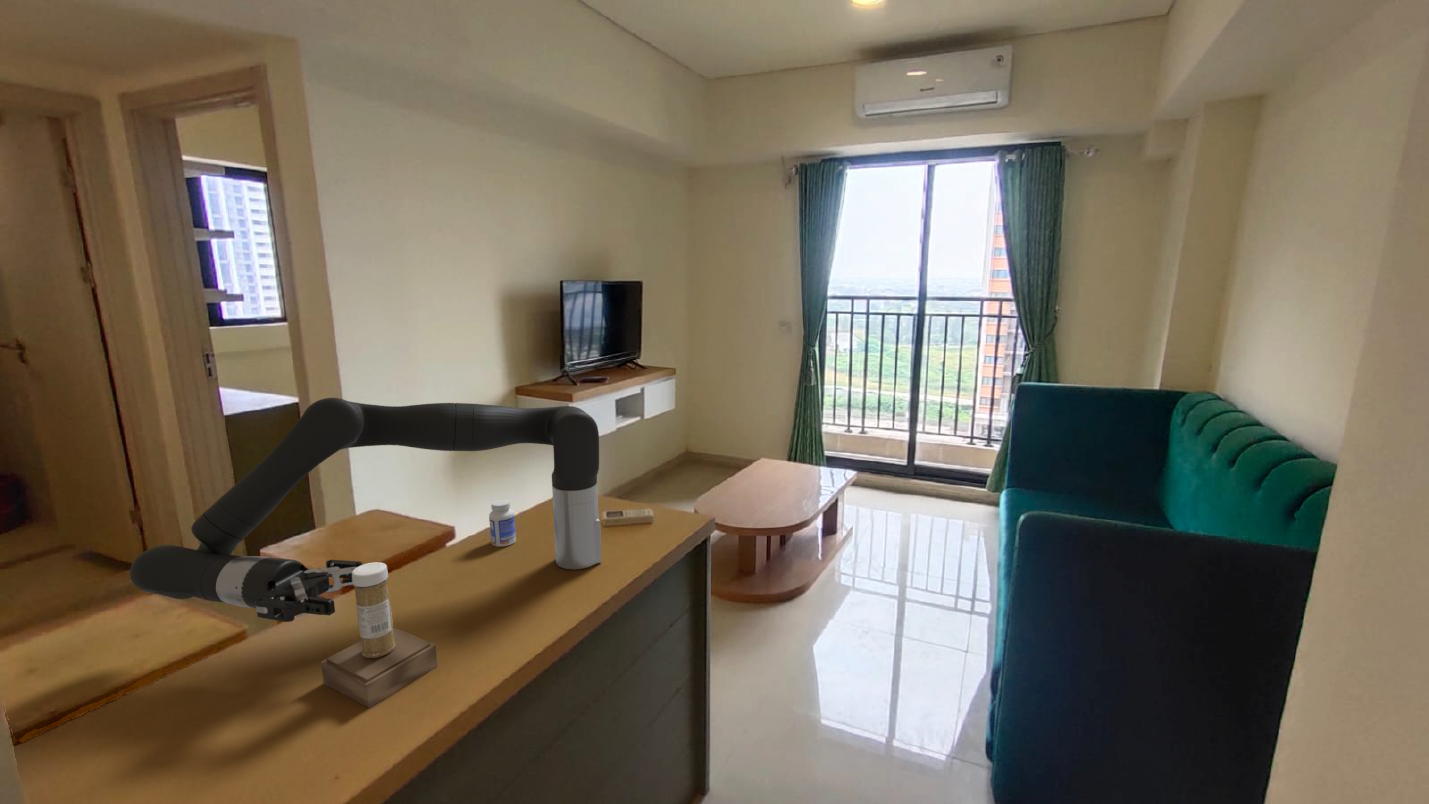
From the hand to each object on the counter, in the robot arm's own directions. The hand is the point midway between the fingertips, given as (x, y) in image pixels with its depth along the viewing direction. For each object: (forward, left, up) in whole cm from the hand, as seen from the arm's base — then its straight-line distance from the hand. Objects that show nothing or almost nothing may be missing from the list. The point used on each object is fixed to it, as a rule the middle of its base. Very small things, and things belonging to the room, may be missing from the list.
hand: (355, 592), depth 91 cm
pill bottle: (-21, -44, -14) cm, 50 cm away
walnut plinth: (-3, +1, -13) cm, 14 cm away
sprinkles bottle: (-2, +1, -9) cm, 10 cm away
